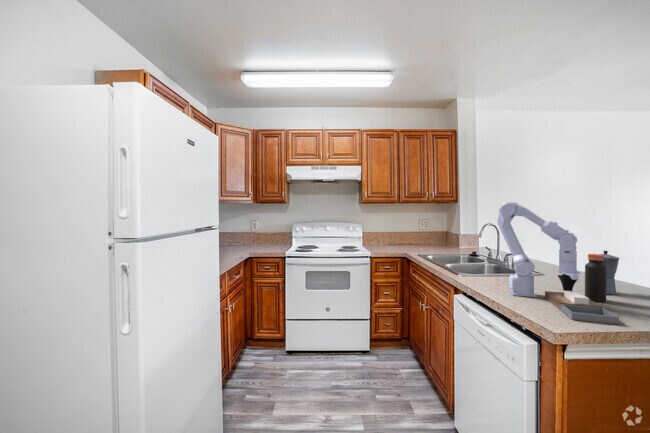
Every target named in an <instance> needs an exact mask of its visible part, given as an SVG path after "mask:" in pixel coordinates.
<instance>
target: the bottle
mask: <svg viewBox="0 0 650 433" xmlns="http://www.w3.org/2000/svg"><path fill="white" fill-rule="evenodd" d="M600 254H601V253H600ZM600 254H599V253H588V254H587V260H588V262H587V263H586V264H585V265H584V296H586V297H588V298H589V299H591V300H592V301H594V302H596V303H606V302H607V294H606V280H607V267H606V266H605V265H604V264H603V260H604V255H600Z"/></svg>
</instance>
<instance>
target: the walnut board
mask: <svg viewBox="0 0 650 433" xmlns="http://www.w3.org/2000/svg"><path fill="white" fill-rule="evenodd" d="M544 299H546V300H547V301H548V302H549V303H550V304H552V305H553V306H554V307H556V308H557V309H558V310H560V311H561V304H564V305H575V306H586V307H598V308H604V306H603V305H601V304H600V303H598V302H594V301H592V300H591V299H589V305H586V304H575V303H573V302H571V301H570V300H569V299H567V298H566V297H564V292H561V291H559V292H558V291H550V290H549V291H546V290H545V291H544Z"/></svg>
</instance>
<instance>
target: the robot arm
mask: <svg viewBox="0 0 650 433" xmlns="http://www.w3.org/2000/svg"><path fill="white" fill-rule="evenodd" d="M516 216H517V217H523V218H525V219H527V220H529V221H530V222H531V223H533V224H535V225H536V226H539V227H540V231H541V232H542V233H544V234H546V235H547V236H548V237H550V238H551V239H553V240H554V241H557V242H558V244H559V250H558V257H559V258H558V268H557V272H558V273H559V274H558V275H557V277H558V278H559V280H560V283H561V287H562V290H563V292H564V291H573V288H574V286H575V284H576V283H577V282H578V281H579V280H580V279H579V277H580V276H579V275H581V272H580V271H577V269H578V268H577V266H578V265H577V264H578V263H577V261H578V259H577V258H578V257H577V256H578V254H577V253H578V252H577V243H578V238H577V236H576V235H575V234H574V233H572V232H570V230H568V229H565V228H563V227H561V226H560V225H558V224H559V223H558V222H557V221H555V222H554V221H552V220H551V221H546V220H545V219H544V218H542V217H541V216H539V215H538V214H536V213H534V212H533V211H532V210H530V209H528V208H527V207H525V206H523V205H520V204H519V203H517V202H515V201H513V202H512V201H509V202H508V201H506V202H504V203H502V205H500V207H499V209H498V216H497V225H498V228H499V229H500V232H501V234H502V237H503V239H504V241H505V242H506V245H507V247H508V249H509V252H510V254H511V256H512V262H513V265H514V272H515V274H510V275H509V278H508V279H509V284H508V285H509V288H508V289H509V290H508V291H509V292H510V294H511V295H512V296H518V297H530V298H531V297H532V298H538V295H536V294H535V275H534V273H533V272H534V271H535V268H536V267H535V264H534V263H533V262H532V261H531V260H530V259H529V256H527V254H526V253H525V251H524V248H523V247H522V245H521V243H520V241H519V238H518V236H517V234H516V232H515V230H514V228H513V226H512V224H511V223H512V221H513V219H514V217H516Z"/></svg>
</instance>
